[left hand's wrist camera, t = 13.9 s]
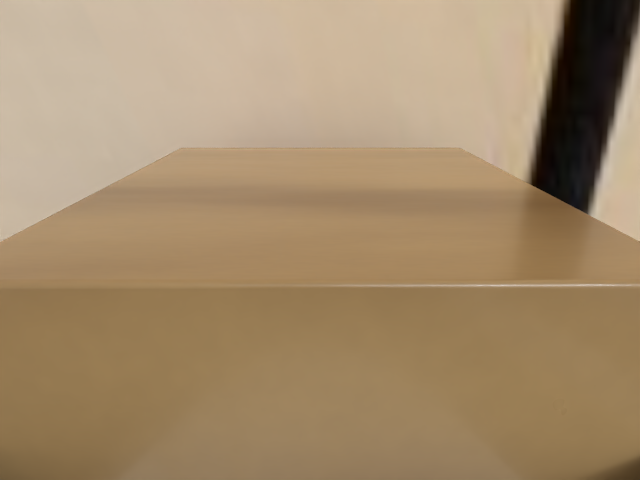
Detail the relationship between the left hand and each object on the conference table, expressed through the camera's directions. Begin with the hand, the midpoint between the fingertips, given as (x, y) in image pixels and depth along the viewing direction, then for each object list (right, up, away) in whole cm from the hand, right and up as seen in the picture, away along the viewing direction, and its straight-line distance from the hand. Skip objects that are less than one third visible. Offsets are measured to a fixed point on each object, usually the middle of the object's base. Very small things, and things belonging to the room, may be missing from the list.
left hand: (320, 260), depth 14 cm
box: (0, -8, +4) cm, 9 cm away
